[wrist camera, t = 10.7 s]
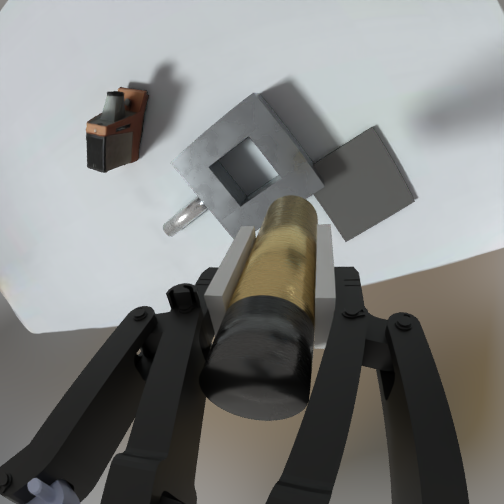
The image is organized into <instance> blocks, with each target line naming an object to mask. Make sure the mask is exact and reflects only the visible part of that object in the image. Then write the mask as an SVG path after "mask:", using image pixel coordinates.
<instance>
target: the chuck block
mask: <svg viewBox="0 0 504 504" xmlns="http://www.w3.org/2000/svg"><path fill="white" fill-rule="evenodd" d="M247 137H250V138H251V140H252V141H253V142H254V143H255V145H256V146H257V147H258V148H259V150H260V151H261V152H262V154H263V155H264V156H265V157H266V159H267V160H268V161H269V162H270V164H271V165H272V166H273V168H274V169H275V170H276V172H277V173H278V174H279V175H278V176H276V177H275V178H273V179H272V180H271V181H269V182H268V183H266V184H265V185H263V186H262V187H260V188H259V189H258V190H256V191H255V192H253V193H252V194H251V195H249V196H248V197H247V196H246V195H245V193H244V192H243V191H242V190H241V188H240V187H239V186H238V185H237V183H236V182H235V181H234V180H233V179H232V177H231V176H230V175H229V174H228V172H227V171H226V170H225V169H224V167H223V166H222V165H221V164H220V163H219V161H218V160H219V159H221V158H222V157H223V156H224V155H226V154H227V153H228V152H229V151H231V150H232V149H233V148H235V147H236V146H237V145H238V144H240V143H241V142H242V141H244V140H245V139H246V138H247ZM171 164H172V165H173V167H174V168H175V169H176V170H177V171H178V173H179V174H180V175H181V176H182V177H183V179H184V180H185V181H186V182H187V184H188V185H189V186H190V187H191V188H192V190H193V191H194V192H195V193H196V194H197V197H196V198H195V199H194V200H192V201H191V202H190V203H189V204H188V205H186V206H185V207H184V208H183V209H182V210H180V211H179V212H178V213H177V214H176V215H174V216H173V217H172V218H171V219H170V220H169V221H167V222H166V223H165V224H164V225H163V230H164V232H165V233H166V234H167V235H168V236H171V237H172V236H174V235H175V234H176V233H178V232H179V231H180V230H181V229H183V228H184V227H185V226H186V225H188V224H189V223H190V222H191V221H193V220H194V219H195V218H197V217H198V216H199V215H200V214H202V213H203V212H204V211H206V210H207V209H209V210H210V211H211V212H212V214H213V215H214V216H215V217H216V218H217V220H218V221H219V222H220V223H221V224H222V226H223V227H224V228H225V229H226V230H227V232H228V233H229V234H230V235H231V236H232V238H233V239H235V237H236V235H237V233H238V232H239V230H240V228H241V226H254V228H255V231H256V230H258V229H259V228H261V226H262V223H263V221H264V218H265V216H266V214H267V211H268V209H269V207H270V205H271V204H272V203H273V202H274V201H275V200H277V199H278V198H280V197H283V196H288V195H294V196H299V197H302V198H304V199H306V198H308V197H309V196H311V195H312V194H314V193H316V192H317V191H319V190H320V189H322V188H324V187H325V184H324V179H323V177H322V176H321V175H320V173H319V172H318V170H317V169H316V167H315V166H314V164H313V162H312V161H311V159H310V158H309V157H308V155H307V154H306V153H305V151H304V150H303V148H302V147H301V146H300V144H299V143H298V142H297V140H296V139H295V138H294V136H293V135H292V134H291V133H290V131H289V130H288V129H287V127H286V126H285V125H284V123H283V122H282V121H281V120H280V118H279V117H278V116H277V115H276V113H275V112H274V111H273V110H272V108H271V107H270V106H269V105H268V104H267V102H266V101H265V100H264V99H263V97H262V96H261V95H260V94H259V93H252V94H251V95H250V96H248V97H247V98H246V99H244V100H243V101H242V102H241V103H239V104H238V105H237V106H236V107H234V108H233V109H232V110H231V111H229V112H228V113H227V114H226V115H224V116H223V117H222V118H221V119H220V120H218V121H217V122H216V123H215V124H214V125H212V126H211V127H210V128H209V129H208V130H206V131H205V132H204V133H203V134H202V135H201V136H200V137H198V138H197V139H196V140H195V141H194V142H193V143H192V144H191V145H189V146H188V147H187V148H186V149H185V150H184V151H183V152H182V153H181V154H180V155H178V156H177V157H176V158H175V159H174V160H173V161H172V162H171Z"/></svg>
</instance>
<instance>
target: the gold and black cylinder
mask: <svg viewBox="0 0 504 504" xmlns="http://www.w3.org/2000/svg"><path fill="white" fill-rule="evenodd" d="M317 225H318V219H317V213H316V211H315V209H314V207H313V206H312V204H311V203H310V202H308V201H307V200H306V199H304V198H302V197H299V196H294V195H288V196H283V197H280V198H278V199H277V200H275V201H274V202H273V203H272V204H271V205H270V207H269V209H268V211H267V214H266V216H265V218H264V221H263V223H262V226H261V228H260V230H259V233H258V235H257V238H256V240H255V243H254V245H253V247H252V250H251V252H250V255H249V257H248V259H247V262H246V264H245V267H244V269H243V272H242V274H241V276H240V279H239V281H238V284H237V286H236V288H235V291H234V293H233V296H232V298H231V301H230V303H229V305H228V308H227V310H226V313H225V315H224V317H223V320H222V322H221V325H220V327H219V330H218V332H217V334H216V337H215V339H214V342H213V344H212V347H211V349H210V351H209V354H208V356H207V359H206V361H205V364H204V366H203V368H202V371H201V373H200V376H199V385H200V388H201V390H202V392H203V393H204V395H205V396H206V397H207V398H208V399H209V400H210V401H211V402H212V403H214V404H215V405H217V406H218V407H220V408H221V409H223V410H225V411H227V412H229V413H232V414H234V415H237V416H240V417H244V418H248V419H254V420H265V421H271V420H280V419H285V418H289V417H292V416H294V415H296V414H298V413H300V412H301V411H302V410H304V409H305V407H306V406H307V404H308V402H309V394H310V383H311V373H312V359H313V346H314V330H315V289H316V258H317Z"/></svg>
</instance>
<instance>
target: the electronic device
mask: <svg viewBox="0 0 504 504" xmlns="http://www.w3.org/2000/svg"><path fill="white" fill-rule="evenodd" d="M148 97H149V95H147V91H146V90H144V91H142V90H136V89H129V88H122V87H120V88H119V89H118V91H114V92H107V98H106V102H105V105H104V108H103V112H102V113H101V114H99V115H98V116H95V117H94V118H92V119H91V120H89V121H88V122H87V128H86V140H87V167H88V168H90V169H93V170H97V171H99V172H104V173H106V172H107V171H109V170H112V169H114V168H117V167H119V166H122V165H125V164H128V163H133V162H135V161H137V160H138V158H139V145H140V141H141V133H142V128H143V122H144V112H145V108H146V104H147V100H148Z"/></svg>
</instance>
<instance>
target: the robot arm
mask: <svg viewBox="0 0 504 504" xmlns="http://www.w3.org/2000/svg"><path fill="white" fill-rule="evenodd" d="M255 240H256V236H255V228H254V226H241V228H240V230H239V232H238V233H237V235H236V237H235V239H234V241H233V242H232V244H231V246H230V248H229V250H228V252H227V253H226V255H225V257H224V259H223V261H222V263H221V264H220V266H219V268H213V267H209V268H208V269H206V270H205V271H204V272H203V273H202V274H201V276H200V277H199V279H198V280H197V282H196V284H195V285H192V284H187V283H184V284H178V285H176V286H173V287H172V288H171V289H169V290H168V292H167V293H166V295H167V298H168V300H169V303H170V306H171V311H170V312H167V313H160V314H155V312H154V310H153V309H152V308H151V307H148V306H142V307H138V308H136V309H134V310H132V311H131V312H130V313H129V314H128V315H127V316H126V317H125V319H124V320H123V321H122V322H121V323H120V325H119V326H118V327H117V328H116V330H115V331H114V332H113V333H112V334H111V336H110V337H109V338H108V339H107V341H106V342H105V343H104V345H103V346H102V347H101V348H100V349H99V351H98V352H97V353H96V354H95V356H94V357H93V358H92V359H91V361H90V362H89V363H88V365H87V366H86V367H85V368H84V370H83V371H82V372H81V374H80V375H79V376H78V378H77V379H76V380H75V382H74V383H73V384H72V385H71V387H70V388H69V389H68V391H67V392H66V394H65V395H64V396H63V398H62V399H61V400H60V402H59V403H58V404H57V406H56V407H55V409H54V410H53V411H52V413H51V414H50V415H49V417H48V418H47V420H46V421H45V422H44V424H43V425H42V427H41V428H40V430H39V431H38V432H37V434H36V435H35V437H34V438H33V440H32V441H31V443H30V444H29V445H28V446H26V447H25V448H24V449H23V450H21V451H20V452H19V453H17V454H16V455H15V456H14V457H12V458H11V459H10V460H9V461H7V462H6V463H5V464H3V465H2V466H1V467H0V494H1V495H2V496H4V497H6V498H7V499H9V500H11V501H12V502H14V503H16V504H80V502H81V501H82V500H83V499H84V498H86V497H87V496H88V494H89V493H90V492H91V491H92V490H93V488H94V487H95V485H96V484H97V482H98V481H99V479H100V477H101V475H102V474H103V472H104V470H105V468H106V467H107V465H108V463H109V461H110V460H111V458H112V456H113V454H114V453H115V451H116V449H117V448H118V446H119V444H120V442H121V441H122V439H123V437H124V435H125V434H126V432H127V430H128V428H129V427H130V425H131V423H132V422H133V420H134V418H135V420H134V423H133V427H132V430H131V434H130V437H129V441H128V444H127V448H126V450H125V451H124V452H123V453H119V454H117V455H116V456H115V457H114V458H113V460H112V462H111V466H110V469H109V473H108V476H107V480H106V484H105V488H104V492H103V495H102V499H101V504H196V503H197V496H196V491H195V486H194V481H195V473H196V465H197V458H198V450H199V443H200V435H201V428H202V421H203V415H204V408H205V400H206V396H205V395H204V393H203V392H202V390H201V388H200V385H199V376H200V373H201V371H202V368H203V366H204V364H205V361H206V359H207V356H208V354H209V351H210V349H211V347H212V343H211V342H212V339H213V337H214V335H215V337H216V334H217V332H218V330H219V327H220V325H221V322H222V320H223V317H224V315H225V313H226V310H227V308H228V305H229V303H230V301H231V298H232V296H233V293H234V291H235V288H236V286H237V284H238V281H239V279H240V276H241V274H242V272H243V269H244V267H245V264H246V262H247V259H248V257H249V255H250V252H251V250H252V247H253V245H254V243H255ZM314 348H322V349H323V348H324V349H325V350H324V354H323V357H322V361H321V364H320V368H319V371H318V374H317V378H316V381H315V384H314V387H313V390H312V393H311V397H310V400H309V403H308V406H307V409H306V412H305V415H304V417H303V420H302V423H301V426H300V429H299V432H298V434H297V437H296V440H295V442H294V445H293V448H292V450H291V453H290V456H289V458H288V461H287V463H286V466H285V468H284V471H283V473H282V475H281V477H280V479H279V481H278V482H277V483H276V484H275V486H274V487H273V489H272V491H271V493H270V495H269V497H268V499H267V502H266V504H329V501H330V498H331V494H332V490H333V486H334V483H335V480H336V476H337V473H338V469H339V466H340V462H341V459H342V455H343V452H344V448H345V444H346V440H347V436H348V432H349V427H350V423H351V418H352V414H353V409H354V404H355V399H356V394H357V389H358V383H359V378H360V372H361V366H366V367H370V368H374V369H376V371H377V377H378V383H379V388H380V394H381V401H382V407H383V414H384V421H385V429H386V437H387V445H388V454H389V466H390V477H391V493H392V504H469V499H468V491H467V485H466V479H465V473H464V468H463V462H462V457H461V453H460V448H459V444H458V439H457V435H456V431H455V427H454V423H453V419H452V416H451V412H450V409H449V405H448V402H447V398H446V395H445V392H444V388H443V385H442V382H441V379H440V376H439V373H438V370H437V367H436V364H435V362H434V359H433V356H432V353H431V350H430V348H429V345H428V343H427V340H426V337H425V335H424V332H423V329H422V327H421V325H420V322H419V321H418V319H417V318H416V317H414V316H413V315H411V314H408V313H403V312H399V313H395V314H393V315H391V316H390V317H389V319H388V320H385V319H381V318H377V317H374V316H373V315H371V314H370V313H368V310H367V309H366V308H365V306H364V301H363V295H362V289H361V283H360V277H359V272H358V271H357V270H356V269H355V268H354V267H334V260H333V247H332V235H331V224H323V225H317V258H316V289H315V341H314ZM139 349H140V350H141V352H140V354H139V355H137V352H138V350H139Z"/></svg>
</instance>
